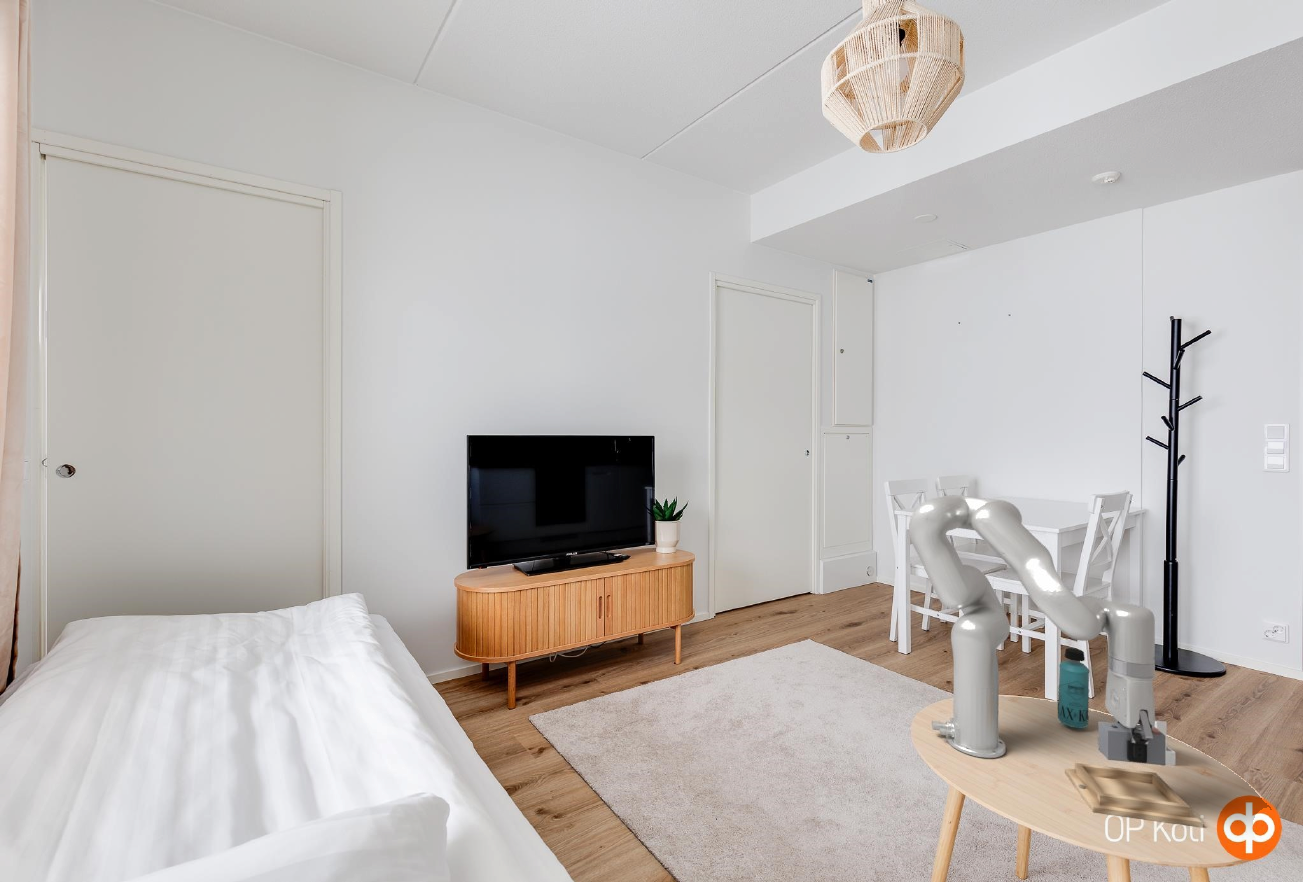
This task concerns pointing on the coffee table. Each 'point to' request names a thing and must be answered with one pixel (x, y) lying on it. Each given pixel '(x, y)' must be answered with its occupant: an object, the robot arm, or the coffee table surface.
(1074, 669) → the beverage bottle
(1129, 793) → the wooden tray
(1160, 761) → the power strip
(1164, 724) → the white wedge bracket
